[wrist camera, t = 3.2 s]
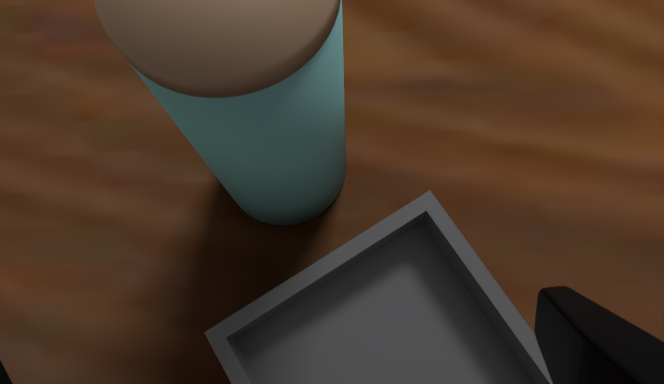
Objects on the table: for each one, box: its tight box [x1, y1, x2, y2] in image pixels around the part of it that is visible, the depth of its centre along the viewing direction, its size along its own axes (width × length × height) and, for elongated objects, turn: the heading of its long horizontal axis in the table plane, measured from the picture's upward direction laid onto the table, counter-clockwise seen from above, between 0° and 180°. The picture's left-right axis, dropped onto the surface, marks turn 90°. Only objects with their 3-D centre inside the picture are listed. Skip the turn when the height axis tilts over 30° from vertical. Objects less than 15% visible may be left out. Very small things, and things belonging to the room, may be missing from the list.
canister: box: [94, 0, 346, 226], centre depth 18 cm, size 6×6×13 cm
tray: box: [204, 191, 553, 384], centre depth 20 cm, size 10×10×2 cm
